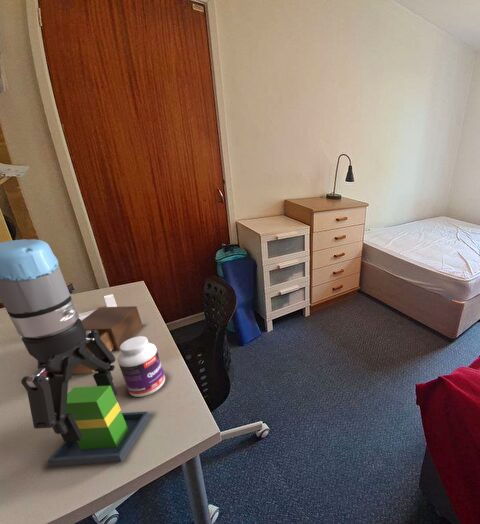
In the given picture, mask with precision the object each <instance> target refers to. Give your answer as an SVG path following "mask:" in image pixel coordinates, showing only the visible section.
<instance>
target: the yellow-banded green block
mask: <svg viewBox="0 0 480 524" xmlns="http://www.w3.org/2000/svg"><path fill="white" fill-rule="evenodd" d="M66 413H71V414H72V416H73V418H74V420H75V422H76V424H77V426H78V428H79V430H80V432H81V434H82V436H83V438H82V439H81V440H80V441H77V442H78V444H79V446H80V448H81V450H86V449H100V448H114V447H117V446H118V445H119V443H120V442H121V440H122V439H123V437H124V436H125V434H126V433H127V431H128V427H127V425H126V422H125V420H124V418H123V415H122V413H123V412H122V409H121V407H120V404H119V402H118V401H117V397H115V395H114V393H113V391H112V388H111V386H97V385H94V386H93V385H92V386H75V387H72V389H71V390H69V392H67V408H66Z"/></svg>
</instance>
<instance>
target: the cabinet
mask: <svg viewBox="0 0 480 524" xmlns="http://www.w3.org/2000/svg"><path fill="white" fill-rule="evenodd" d="M96 309H97V310H95V309H94V310H95V311H94V312H93V313H91V314H90V315H89V316H87V317H86V318H84V319H83V320H82V324H83V326H84V329H85V330H98V331H109V332H110V334H111V337H112V340H113V342H114V345H115V348H114V349H113V350H112V351H111V352H117V351H121V349H120V346H121V344H122V343H123V342H125V341H126V340H128V339H130V338H133V337H135V335H136V334H137V333H138V332H139V331H140V330H141V329H142V328H143V323H142V319H141V316H140V313H139V310H138V306H136V305H135V306H133V305H132V306H117V307H106V306H100V307H98V308H96Z"/></svg>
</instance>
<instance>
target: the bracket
mask: <svg viewBox="0 0 480 524" xmlns="http://www.w3.org/2000/svg"><path fill="white" fill-rule="evenodd" d="M103 297H104V298H103V299H104V301H105V304H106V306H105V307H118V304H117V301H116V299H115V296H114V294H113V293H110V294H106V295H103ZM97 309H98V308H95V309H92V310H88V311H84V312H81V313H78V315H79V319H80V320H81V321H82V320H83V319H84V318H86V317H87V316H89V315H90V314H91V313H93V312H94V311H95V310H97Z"/></svg>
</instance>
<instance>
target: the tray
mask: <svg viewBox="0 0 480 524" xmlns="http://www.w3.org/2000/svg"><path fill="white" fill-rule="evenodd" d="M121 413H122V415H123V418H124V420H125V422H126V425H127V427H128V431H127V433H126V434H125V436H124V437H123V439H122V440H121V442H120V443H119V445H118V446H117V447H114V448H100V449H86V450H81V448H80V446H79V444H78V442H77V441H68V442H65V441H64V440H63V442H62V443H61V445H60V446H59V447H58V448H57V449H56V450H55V451H54V452H53V454H52V455H51V456H50V457H49V458H48V459H47V463H48V464H49V466H50V468H57V467H69V466H81V465H95V464H108V463H121V462H123V460H124V459H125V458H126V456H127V454H128V453H129V451H130V449H131V448H132V446H133V444H134V443H135V441H136V440H137V438H138V437H139V435H140V433H141V432H142V430H143V428H144V427H145V425H146V423H147V422H148V420H149V419H150V414H149V411H134V412H133V411H132V412H121Z"/></svg>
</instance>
